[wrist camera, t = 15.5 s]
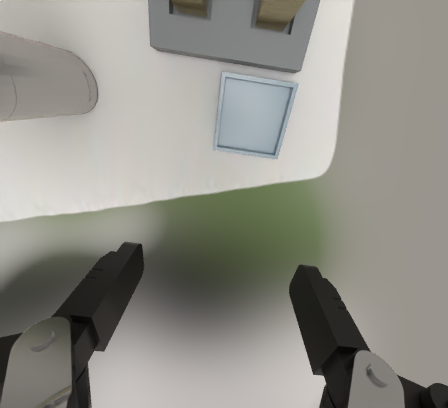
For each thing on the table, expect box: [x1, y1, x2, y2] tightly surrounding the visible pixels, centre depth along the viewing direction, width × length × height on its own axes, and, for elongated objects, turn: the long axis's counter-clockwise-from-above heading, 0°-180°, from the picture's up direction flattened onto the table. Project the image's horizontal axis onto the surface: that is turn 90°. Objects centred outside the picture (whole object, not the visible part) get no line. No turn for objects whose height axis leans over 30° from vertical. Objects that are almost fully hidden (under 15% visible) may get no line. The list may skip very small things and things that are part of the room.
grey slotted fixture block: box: [148, 0, 320, 73], centre depth 25 cm, size 22×13×3 cm, turn 82°
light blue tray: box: [214, 71, 298, 159], centre depth 33 cm, size 12×12×2 cm
